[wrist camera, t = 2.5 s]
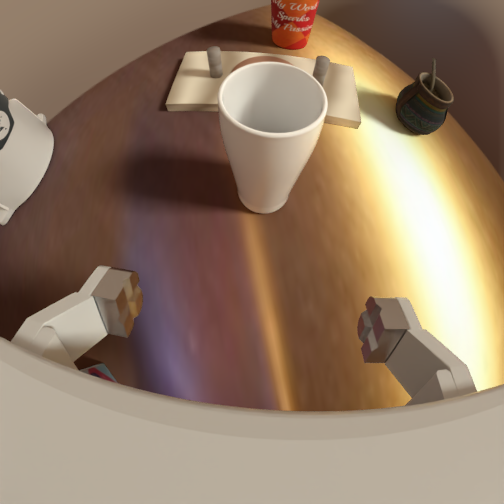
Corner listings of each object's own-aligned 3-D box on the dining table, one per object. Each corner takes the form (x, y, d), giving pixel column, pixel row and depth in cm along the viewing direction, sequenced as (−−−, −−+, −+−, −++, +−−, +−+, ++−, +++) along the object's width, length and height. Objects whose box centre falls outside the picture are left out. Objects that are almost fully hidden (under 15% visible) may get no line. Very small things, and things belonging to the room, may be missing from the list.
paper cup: (262, 50, 34) (266, -26, 21) (267, 26, 36) (271, -40, 22) (314, 57, 34) (331, -16, 20) (313, 33, 36) (327, -32, 22)
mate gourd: (399, 139, 31) (434, 92, 21) (382, 97, 33) (407, 50, 23) (438, 143, 31) (475, 104, 22) (420, 103, 33) (449, 62, 23)
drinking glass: (220, 179, 30) (199, 78, 15) (276, 155, 30) (292, 51, 16) (248, 233, 28) (247, 155, 14) (306, 205, 29) (351, 117, 14)
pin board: (168, 111, 32) (156, 80, 26) (187, 59, 34) (181, 29, 28) (357, 128, 31) (373, 99, 25) (349, 73, 33) (360, 45, 28)
